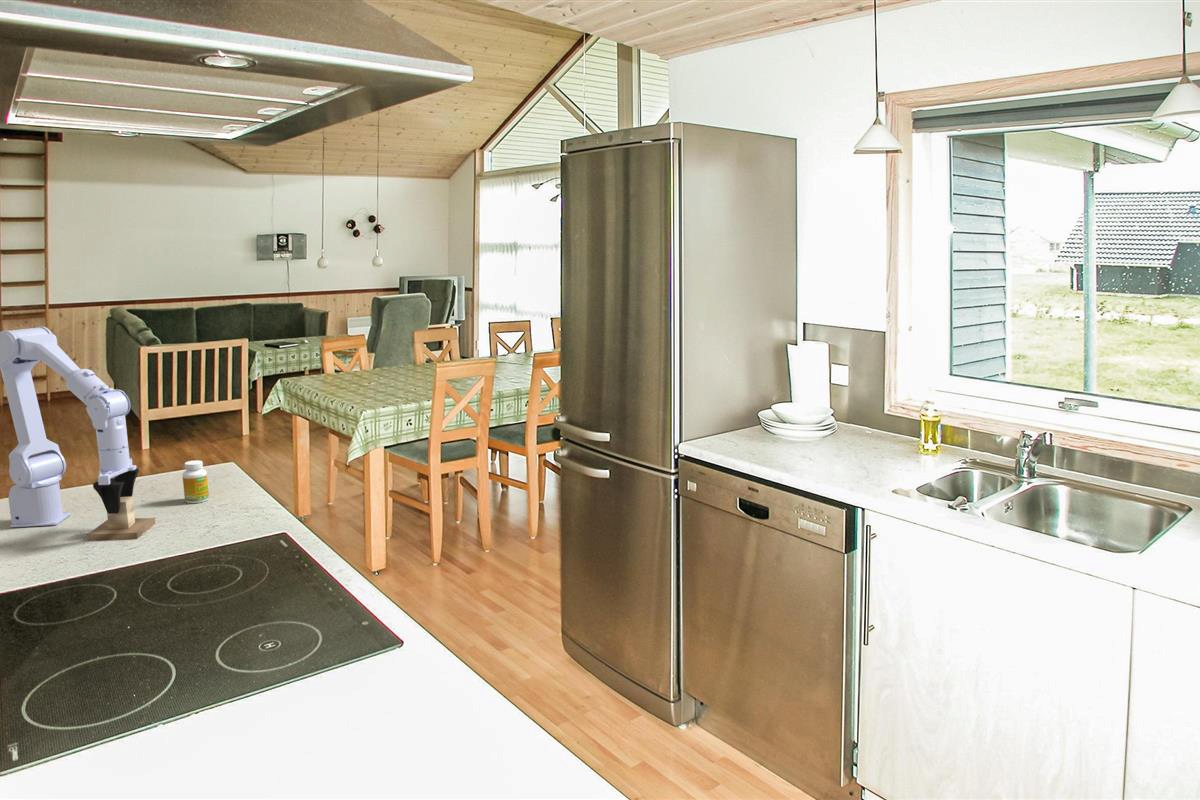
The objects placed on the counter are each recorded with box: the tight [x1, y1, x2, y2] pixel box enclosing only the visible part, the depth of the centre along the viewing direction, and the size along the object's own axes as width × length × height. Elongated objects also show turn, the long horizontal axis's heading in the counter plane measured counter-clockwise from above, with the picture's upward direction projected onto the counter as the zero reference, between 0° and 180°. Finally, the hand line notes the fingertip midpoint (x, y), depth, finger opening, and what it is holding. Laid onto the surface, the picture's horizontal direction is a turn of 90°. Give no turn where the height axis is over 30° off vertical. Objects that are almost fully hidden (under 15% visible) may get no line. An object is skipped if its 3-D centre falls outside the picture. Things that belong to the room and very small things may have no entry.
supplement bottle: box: [182, 459, 210, 504], centre depth 209 cm, size 5×5×10 cm
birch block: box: [106, 495, 135, 529], centre depth 187 cm, size 4×4×6 cm
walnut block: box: [87, 517, 156, 541], centre depth 188 cm, size 10×10×2 cm
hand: (119, 507), depth 187 cm, fingers open, 7 cm apart
